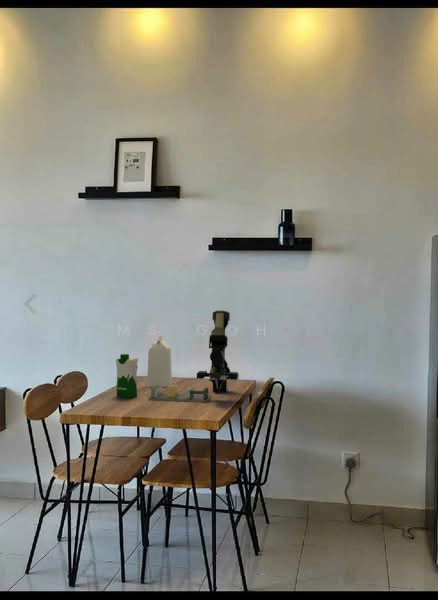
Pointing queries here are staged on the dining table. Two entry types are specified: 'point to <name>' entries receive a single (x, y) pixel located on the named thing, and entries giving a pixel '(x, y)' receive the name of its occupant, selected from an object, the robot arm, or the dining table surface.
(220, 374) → the robot arm
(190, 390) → the jaw
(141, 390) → the dining table surface
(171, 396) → the block
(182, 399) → the vise
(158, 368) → the milk
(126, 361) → the milk carton
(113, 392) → the dining table surface
